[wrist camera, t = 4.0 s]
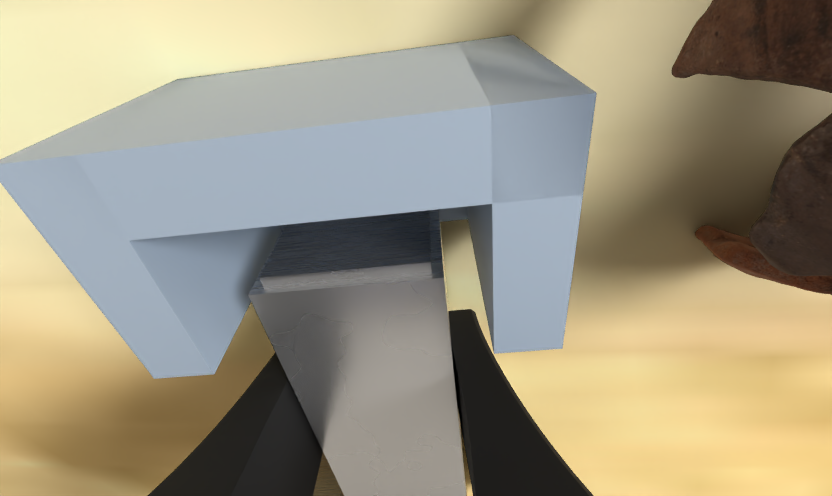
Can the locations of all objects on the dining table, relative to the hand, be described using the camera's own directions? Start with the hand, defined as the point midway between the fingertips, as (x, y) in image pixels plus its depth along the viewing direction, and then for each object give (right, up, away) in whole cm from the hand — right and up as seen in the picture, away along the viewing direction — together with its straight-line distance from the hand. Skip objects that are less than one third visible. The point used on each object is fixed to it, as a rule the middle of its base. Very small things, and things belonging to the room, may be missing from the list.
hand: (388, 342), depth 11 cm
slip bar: (0, -1, +2) cm, 2 cm away
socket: (-1, +5, -2) cm, 5 cm away
